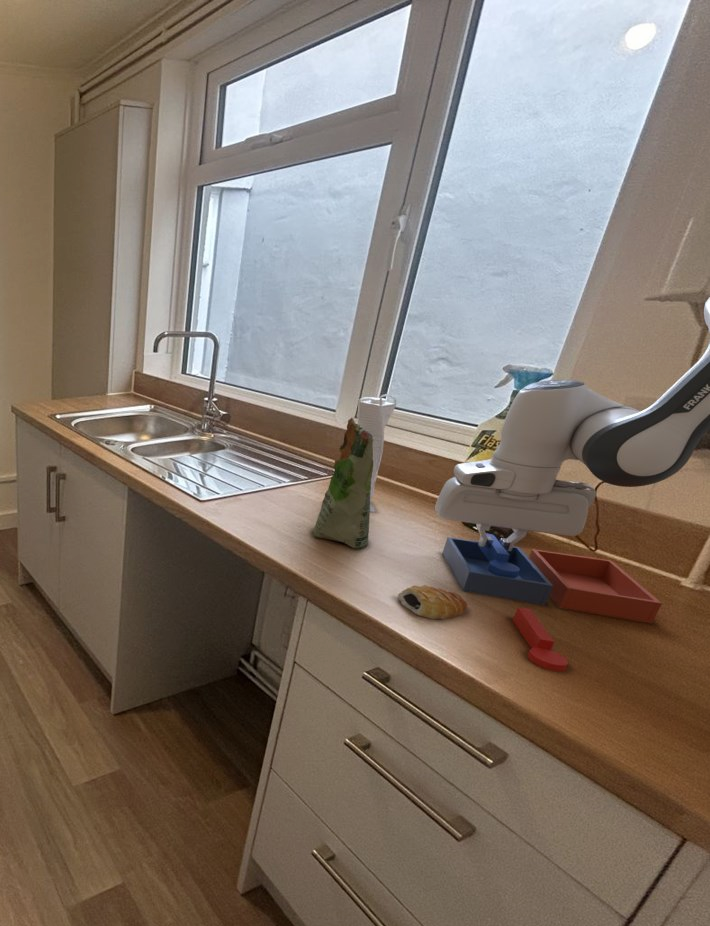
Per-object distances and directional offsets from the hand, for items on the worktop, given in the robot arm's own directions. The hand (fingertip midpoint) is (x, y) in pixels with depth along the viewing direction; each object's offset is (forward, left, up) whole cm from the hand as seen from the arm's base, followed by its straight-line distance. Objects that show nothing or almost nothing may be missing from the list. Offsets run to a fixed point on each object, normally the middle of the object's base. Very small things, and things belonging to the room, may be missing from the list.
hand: (493, 547), depth 95 cm
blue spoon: (0, +3, -2) cm, 3 cm away
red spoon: (0, +24, -5) cm, 25 cm away
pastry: (+12, +18, -6) cm, 22 cm away
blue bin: (0, +2, -5) cm, 6 cm away
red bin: (-13, +2, -5) cm, 14 cm away
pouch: (+24, -6, -6) cm, 25 cm away
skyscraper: (+19, -27, -6) cm, 33 cm away
